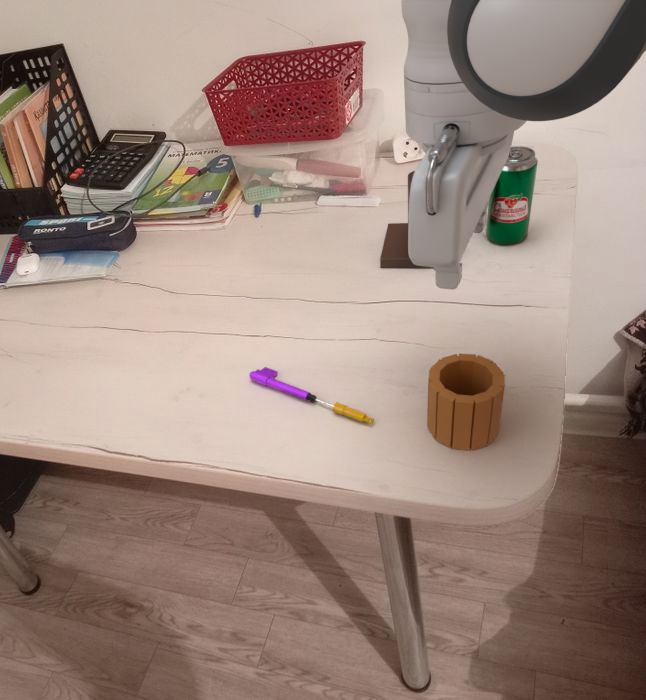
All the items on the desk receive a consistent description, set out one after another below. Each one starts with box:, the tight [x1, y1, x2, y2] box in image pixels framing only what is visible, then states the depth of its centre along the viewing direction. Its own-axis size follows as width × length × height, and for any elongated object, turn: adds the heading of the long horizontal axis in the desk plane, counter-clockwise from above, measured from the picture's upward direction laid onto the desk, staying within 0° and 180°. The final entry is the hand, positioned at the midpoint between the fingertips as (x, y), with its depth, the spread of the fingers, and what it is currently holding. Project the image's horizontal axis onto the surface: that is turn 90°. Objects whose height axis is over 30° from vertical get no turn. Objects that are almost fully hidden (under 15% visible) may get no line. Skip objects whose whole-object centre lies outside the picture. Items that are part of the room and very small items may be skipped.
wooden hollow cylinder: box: [426, 353, 506, 451], centre depth 61 cm, size 7×7×7 cm
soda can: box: [485, 145, 539, 245], centre depth 80 cm, size 5×5×12 cm
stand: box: [379, 170, 434, 269], centre depth 83 cm, size 9×9×12 cm
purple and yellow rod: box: [249, 366, 375, 425], centre depth 71 cm, size 3×1×16 cm
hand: (462, 255), depth 56 cm, fingers open, 8 cm apart
